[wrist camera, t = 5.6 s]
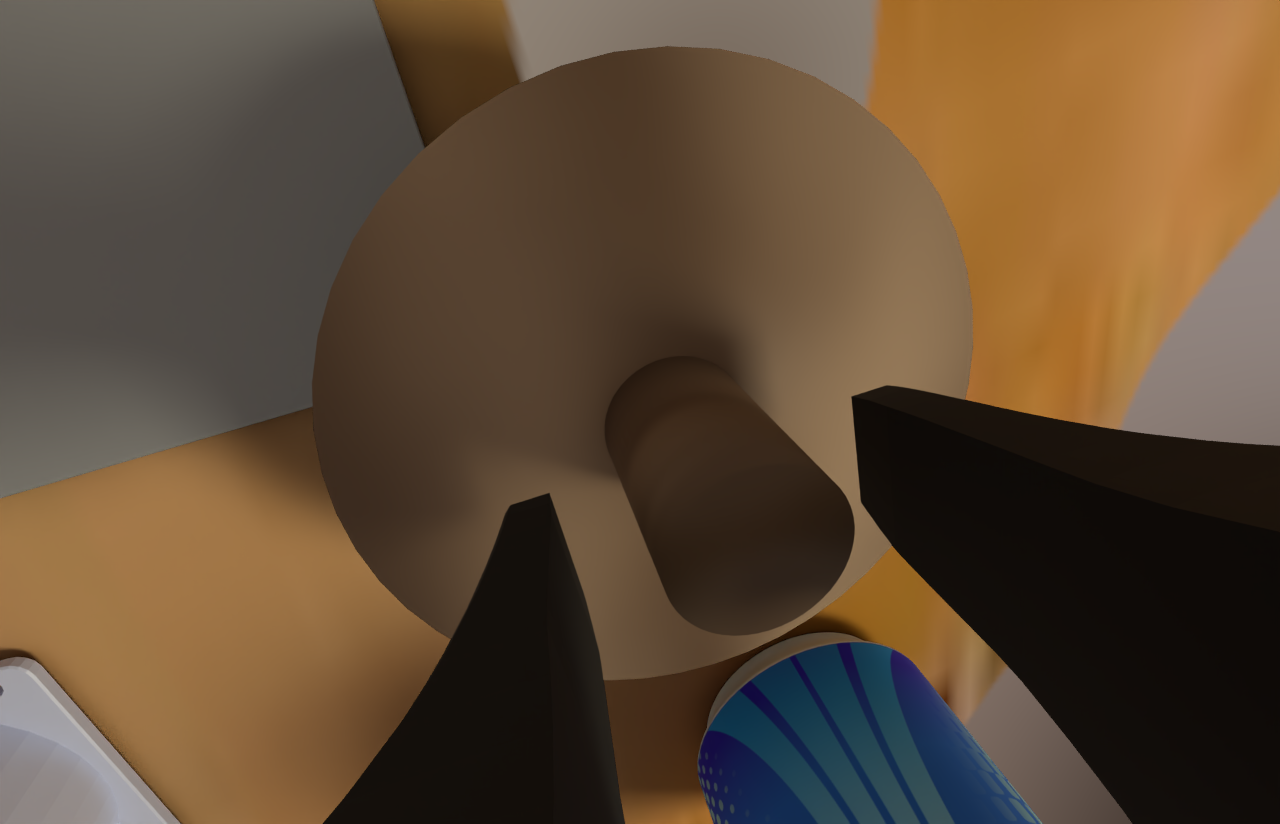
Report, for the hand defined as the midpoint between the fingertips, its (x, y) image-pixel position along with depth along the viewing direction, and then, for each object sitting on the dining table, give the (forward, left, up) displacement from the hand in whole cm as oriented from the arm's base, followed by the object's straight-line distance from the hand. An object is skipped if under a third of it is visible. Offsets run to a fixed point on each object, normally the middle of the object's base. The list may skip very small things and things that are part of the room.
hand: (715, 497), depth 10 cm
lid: (0, 0, -3) cm, 3 cm away
